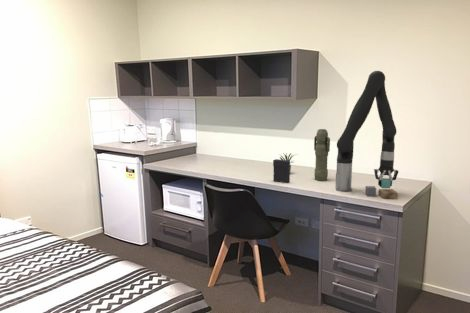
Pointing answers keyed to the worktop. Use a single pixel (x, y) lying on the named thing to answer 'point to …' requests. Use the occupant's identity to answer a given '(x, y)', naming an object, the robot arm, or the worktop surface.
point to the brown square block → (388, 194)
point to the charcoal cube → (370, 191)
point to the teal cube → (385, 183)
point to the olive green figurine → (321, 154)
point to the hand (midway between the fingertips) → (384, 186)
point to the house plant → (288, 158)
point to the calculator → (281, 170)
